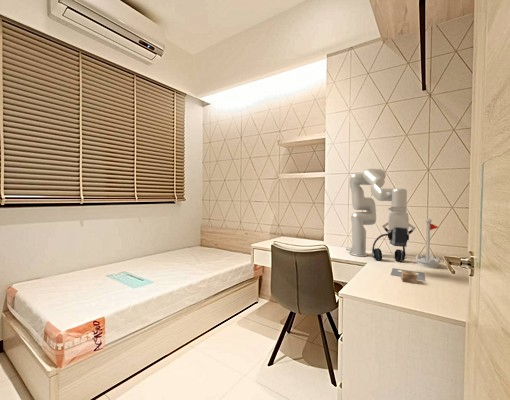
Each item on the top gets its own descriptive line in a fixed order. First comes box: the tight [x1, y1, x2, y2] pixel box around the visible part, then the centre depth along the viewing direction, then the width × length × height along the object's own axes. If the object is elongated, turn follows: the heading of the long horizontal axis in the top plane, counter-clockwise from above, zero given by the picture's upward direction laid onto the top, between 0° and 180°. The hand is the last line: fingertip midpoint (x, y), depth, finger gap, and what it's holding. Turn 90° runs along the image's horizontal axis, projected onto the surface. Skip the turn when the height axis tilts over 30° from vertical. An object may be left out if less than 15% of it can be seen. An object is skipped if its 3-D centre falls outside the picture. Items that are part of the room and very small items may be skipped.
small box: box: [389, 227, 408, 248], centre depth 144 cm, size 11×6×10 cm, turn 167°
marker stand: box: [414, 218, 441, 269], centre depth 160 cm, size 13×13×30 cm
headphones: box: [371, 233, 406, 262], centre depth 170 cm, size 20×7×18 cm, turn 81°
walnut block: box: [400, 269, 418, 285], centre depth 129 cm, size 6×6×5 cm
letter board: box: [390, 267, 426, 282], centre depth 140 cm, size 16×16×1 cm
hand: (398, 240), depth 144 cm, fingers closed on small box, 7 cm apart
